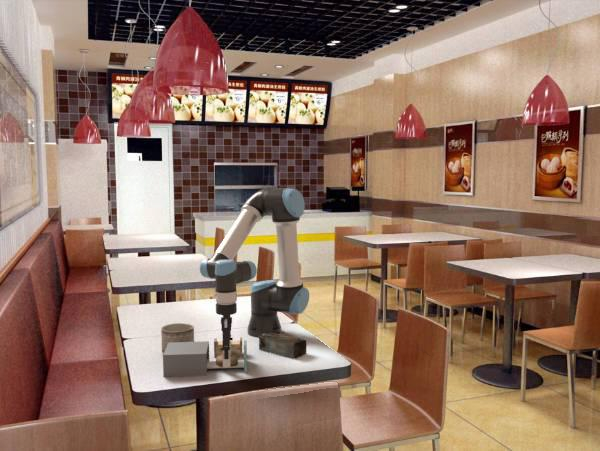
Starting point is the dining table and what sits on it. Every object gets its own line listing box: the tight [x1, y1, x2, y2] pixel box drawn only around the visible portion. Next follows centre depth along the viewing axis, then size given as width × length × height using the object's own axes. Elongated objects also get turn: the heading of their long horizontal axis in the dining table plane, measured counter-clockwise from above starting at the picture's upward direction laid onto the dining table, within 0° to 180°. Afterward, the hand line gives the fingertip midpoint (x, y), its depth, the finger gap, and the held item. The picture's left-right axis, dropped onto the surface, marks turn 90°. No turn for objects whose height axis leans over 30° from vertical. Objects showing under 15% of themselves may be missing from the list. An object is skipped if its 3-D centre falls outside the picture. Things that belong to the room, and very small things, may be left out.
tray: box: [207, 339, 248, 373], centre depth 208 cm, size 15×14×7 cm
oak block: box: [213, 337, 243, 358], centre depth 222 cm, size 11×5×6 cm, turn 95°
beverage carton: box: [258, 332, 308, 359], centre depth 226 cm, size 8×19×7 cm, turn 51°
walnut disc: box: [215, 354, 239, 367], centre depth 208 cm, size 8×8×2 cm
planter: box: [160, 322, 195, 354], centre depth 225 cm, size 13×13×10 cm
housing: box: [162, 340, 210, 378], centre depth 207 cm, size 15×15×8 cm
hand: (227, 362), depth 208 cm, fingers open, 9 cm apart
